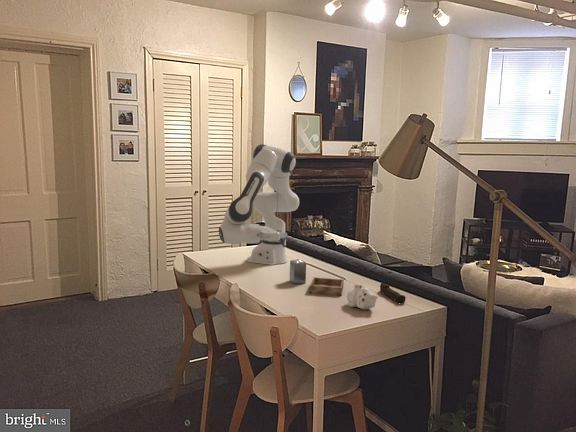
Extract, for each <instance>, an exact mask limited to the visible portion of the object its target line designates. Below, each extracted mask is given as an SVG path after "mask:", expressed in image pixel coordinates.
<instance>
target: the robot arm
mask: <svg viewBox="0 0 576 432" xmlns="http://www.w3.org/2000/svg"><path fill="white" fill-rule="evenodd" d="M252 159H253V160H252V161H251V163H250V165H249V167H248V169H247V171H246V173H245V178H246V185H245V186H244V188H243V190H242V192H241V193H240V195H239V196H238V197H237V198H235V199H234V200H232V202H231V203H230V205H229V207H228V208H227V209H226V211H225V213H224V217H223V221H222V223H221V225H219V227H218V236H219V239H220V240H221V242H222V243H224V244H228V245H229V244H230V245H239V244H240V245H241V244H248V245H249V244H257V245H256V246H255V247H254V248H253V249H252V251H251V254H250V256H248V257H247V259H246V260H247V261H246V262H247V263H253V264H254V263H255V264H261V265H262V264H263V265H269V266H273V265H279V264H280V265H281V264H285V263H287V262H288V259H287V254H286V246H287V243H286V242H287V239H286V238H288V232H286V222H285V221H284V220H283V219H282V218H281V217H278V216H276V215H275V213H289V212H294V211H296V210H298V208H299V206H300V198H299V196H298V195H297V194H296V193H295V192H294V191H293V190H292V189H291V188H290V175H291V172H293V170H294V168H295V167H296V162H297V158H296V156H295V154H294V153H292V152H290V151H287V150H285V149H282V148H279V147H275V146H272V145H267V144H258V145H257V146H256V147H255V149H254V150H253V154H252ZM266 184H268V186H269V188H270V189H272V190H273V191H262V192H259V191H260V189H261V188H263V187H264V186H265V185H266ZM253 209H255V210H256V211H257V212H258V213H259V214H260V215H261V216H262V218H263V220H264V226H263V225H260V224H258V223H256V224H255V223H250V224H249V223H248V224H247V220H248V219H250V217H251V216H252V214H253Z"/></svg>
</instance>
